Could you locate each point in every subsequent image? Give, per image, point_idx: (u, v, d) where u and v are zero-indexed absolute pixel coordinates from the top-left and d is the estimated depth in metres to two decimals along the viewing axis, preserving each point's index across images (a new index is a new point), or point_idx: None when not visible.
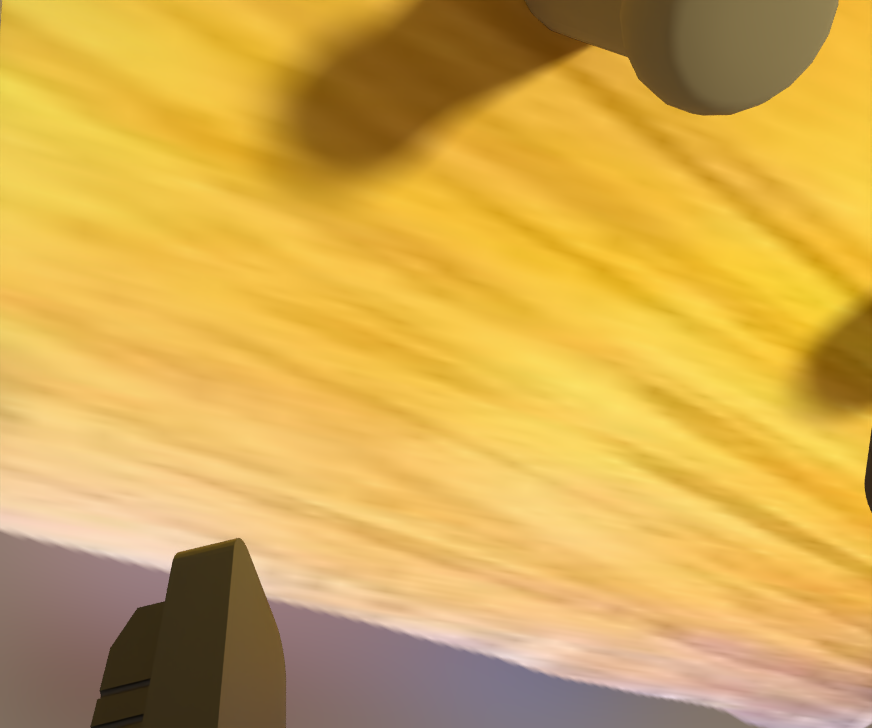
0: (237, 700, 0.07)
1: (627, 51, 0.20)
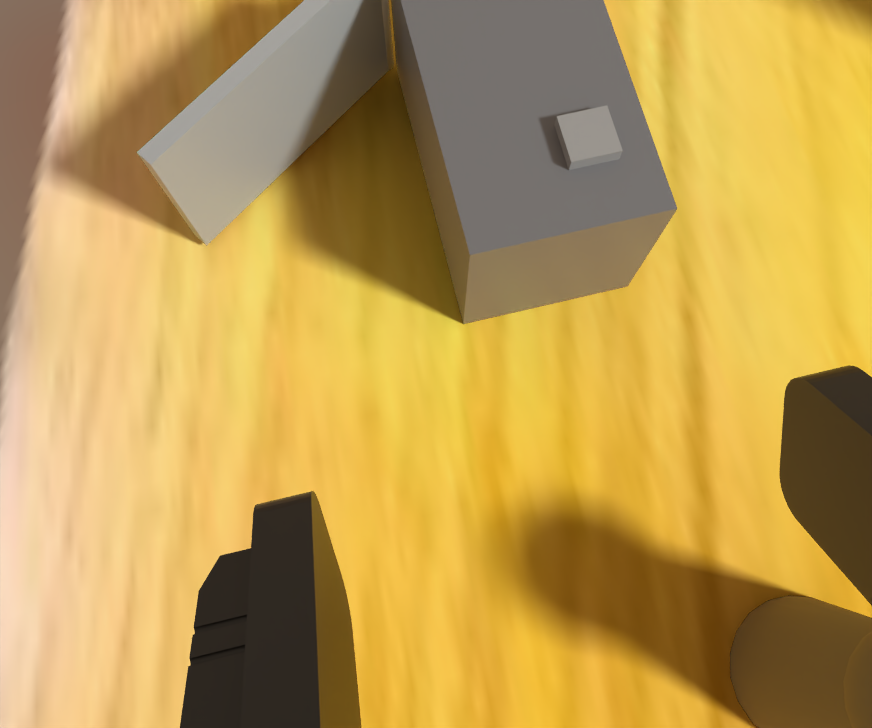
0: (326, 634, 0.08)
1: (858, 654, 0.24)
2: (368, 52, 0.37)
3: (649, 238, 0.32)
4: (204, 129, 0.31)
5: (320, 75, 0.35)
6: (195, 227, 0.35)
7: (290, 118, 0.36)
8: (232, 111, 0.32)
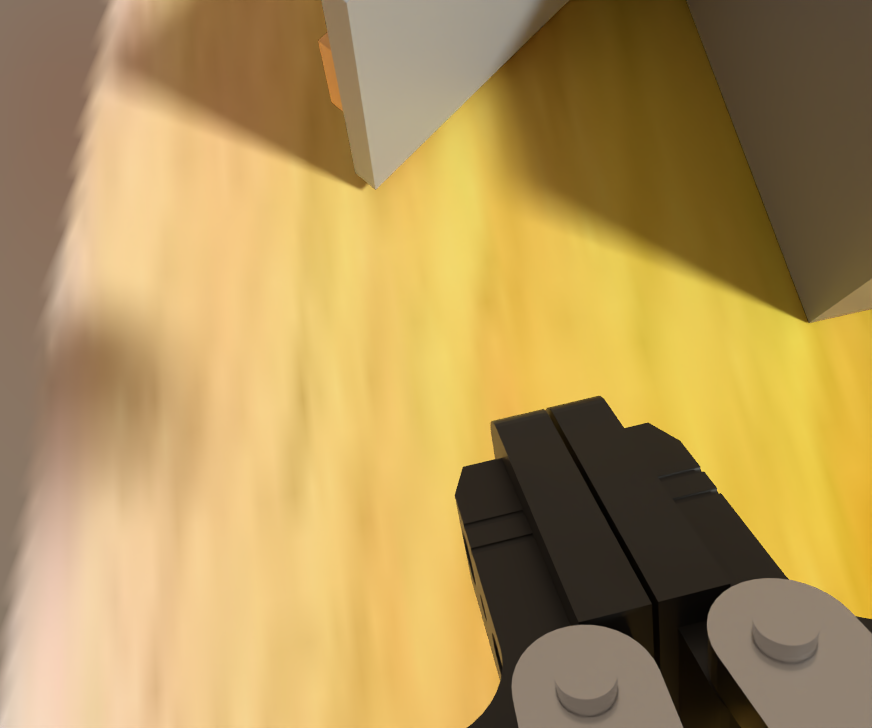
0: None
1: None
2: None
3: None
4: None
5: None
6: (371, 153, 0.21)
7: None
8: None
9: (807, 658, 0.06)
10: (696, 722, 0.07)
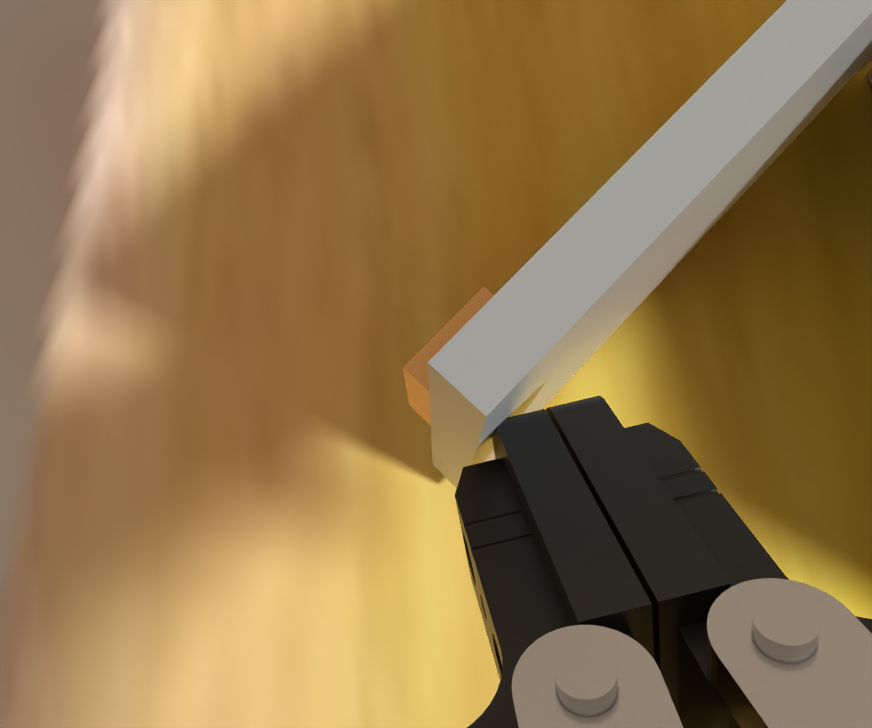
0: None
1: None
2: None
3: None
4: (638, 265, 0.09)
5: (833, 81, 0.13)
6: None
7: (731, 195, 0.13)
8: (705, 197, 0.09)
9: (807, 658, 0.06)
10: (696, 722, 0.07)
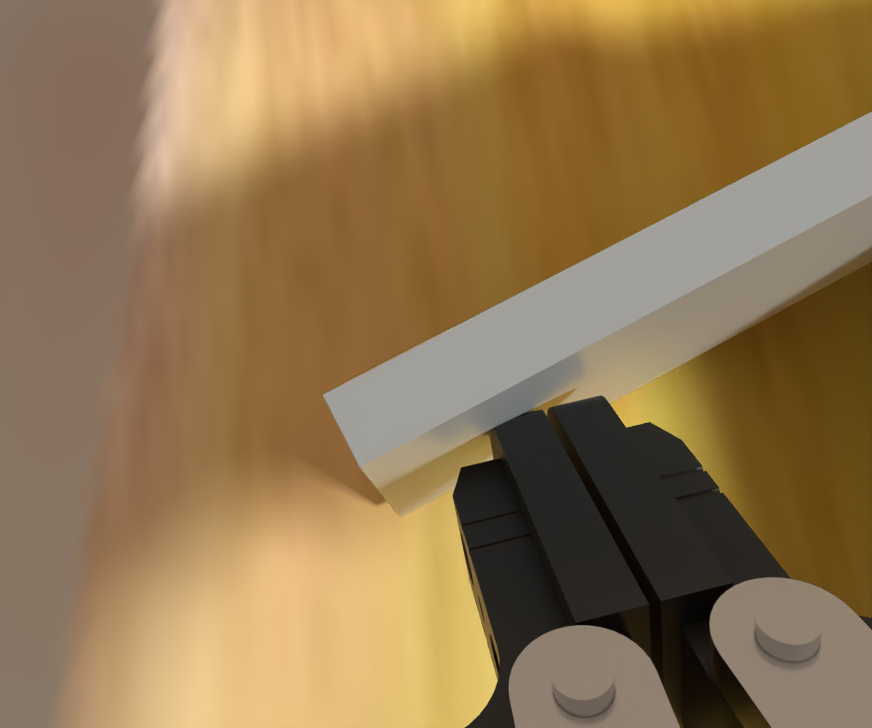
0: None
1: None
2: None
3: None
4: (581, 360, 0.08)
5: None
6: (396, 508, 0.13)
7: (751, 309, 0.13)
8: (683, 311, 0.09)
9: (810, 658, 0.06)
10: (699, 722, 0.07)
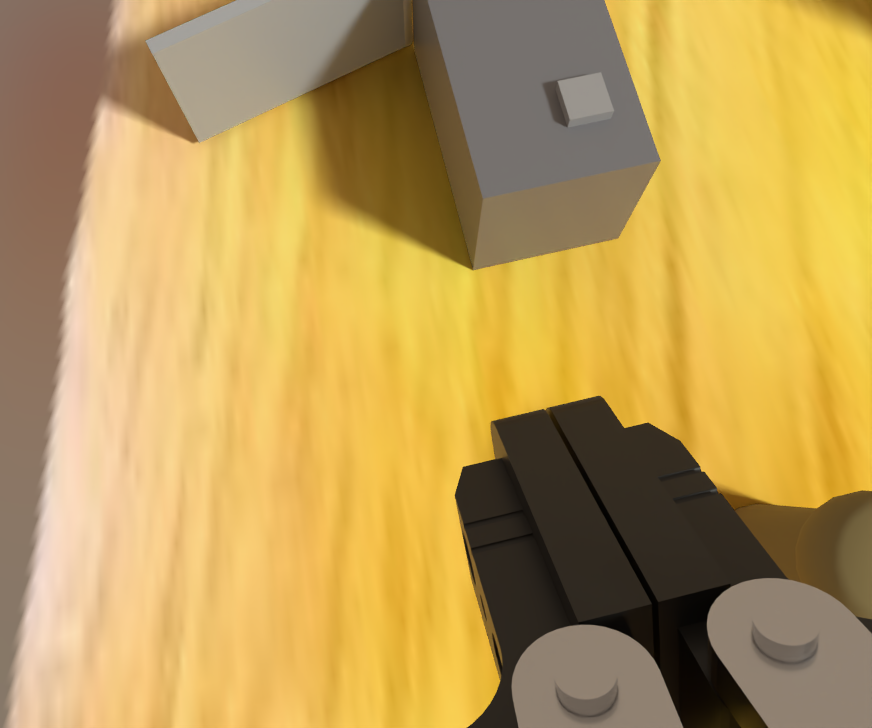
0: None
1: (806, 523, 0.29)
2: (384, 23, 0.42)
3: (636, 190, 0.37)
4: (208, 40, 0.37)
5: (331, 29, 0.40)
6: (189, 123, 0.41)
7: (297, 58, 0.41)
8: (238, 33, 0.37)
9: (807, 658, 0.06)
10: (696, 722, 0.07)
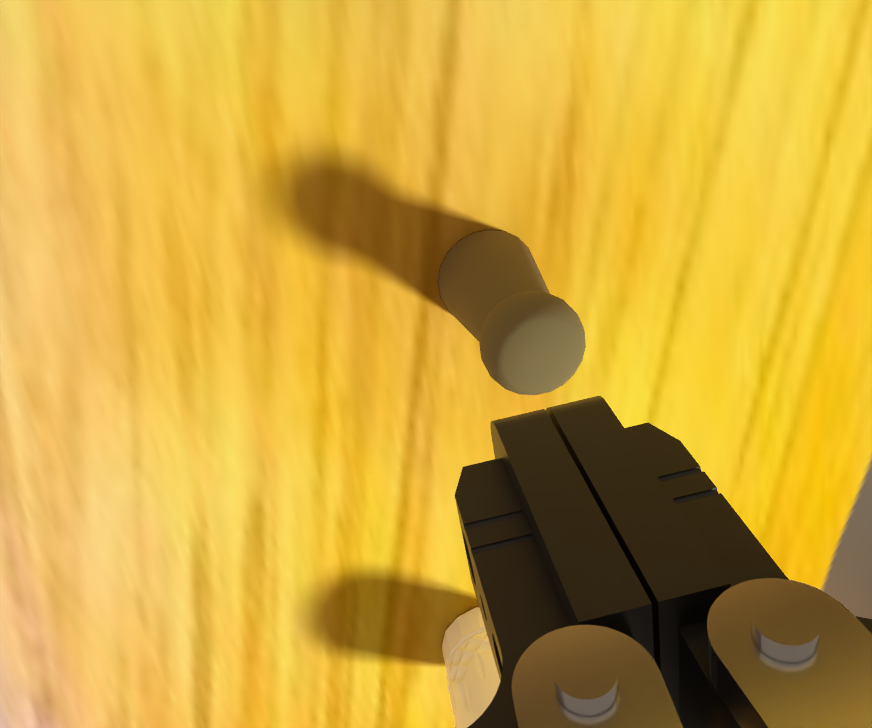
0: None
1: (491, 315, 0.38)
2: None
3: None
4: None
5: None
6: None
7: None
8: None
9: (807, 658, 0.06)
10: (696, 722, 0.07)
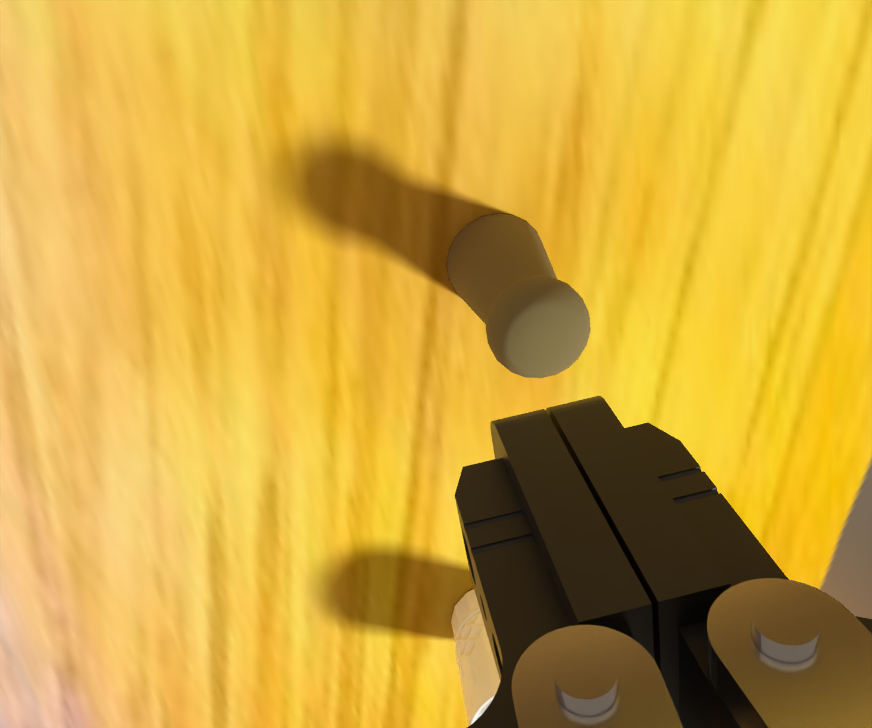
0: None
1: (498, 299, 0.39)
2: None
3: None
4: None
5: None
6: None
7: None
8: None
9: (808, 658, 0.06)
10: (696, 722, 0.07)
